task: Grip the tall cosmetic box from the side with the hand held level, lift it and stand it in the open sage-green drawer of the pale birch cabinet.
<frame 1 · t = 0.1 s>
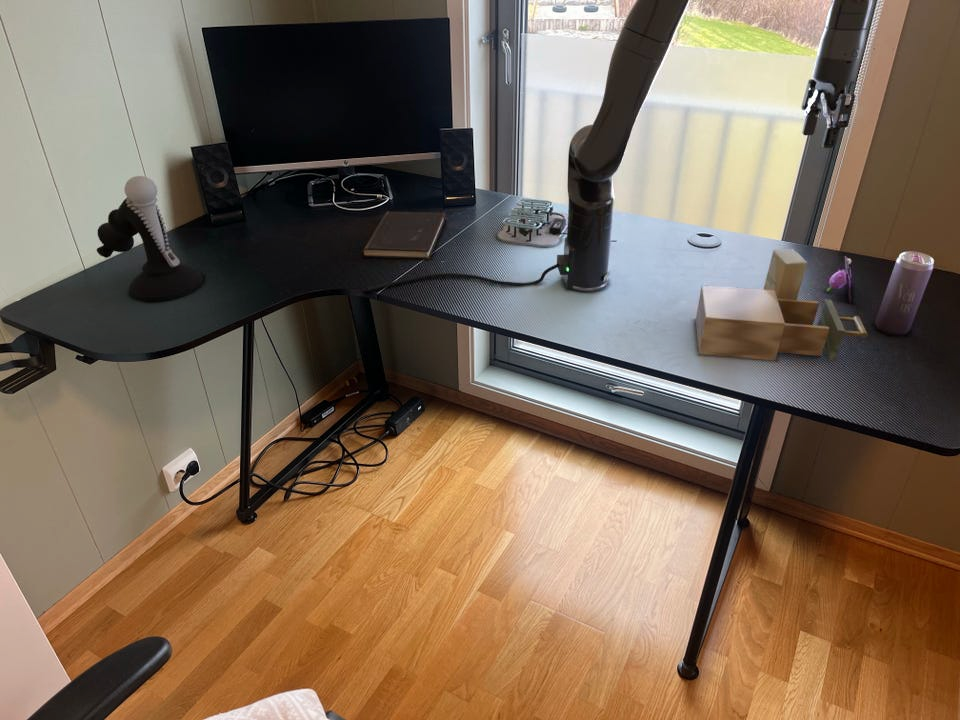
hand: (817, 141, 139), 29 cm above the table, tool pointing down, fingers open, 8 cm apart
beverage can: (891, 329, 135), on the table
purple figurine: (837, 293, 147), on the table
sculpture: (152, 283, 158), on the table
drawer: (811, 327, 128), point 4 cm above the table, slide at 9.0 cm
hardcover book: (406, 239, 175), on the table
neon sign: (561, 231, 177), on the table
cosmetic box: (775, 311, 142), on the table
cabinet: (733, 339, 133), on the table
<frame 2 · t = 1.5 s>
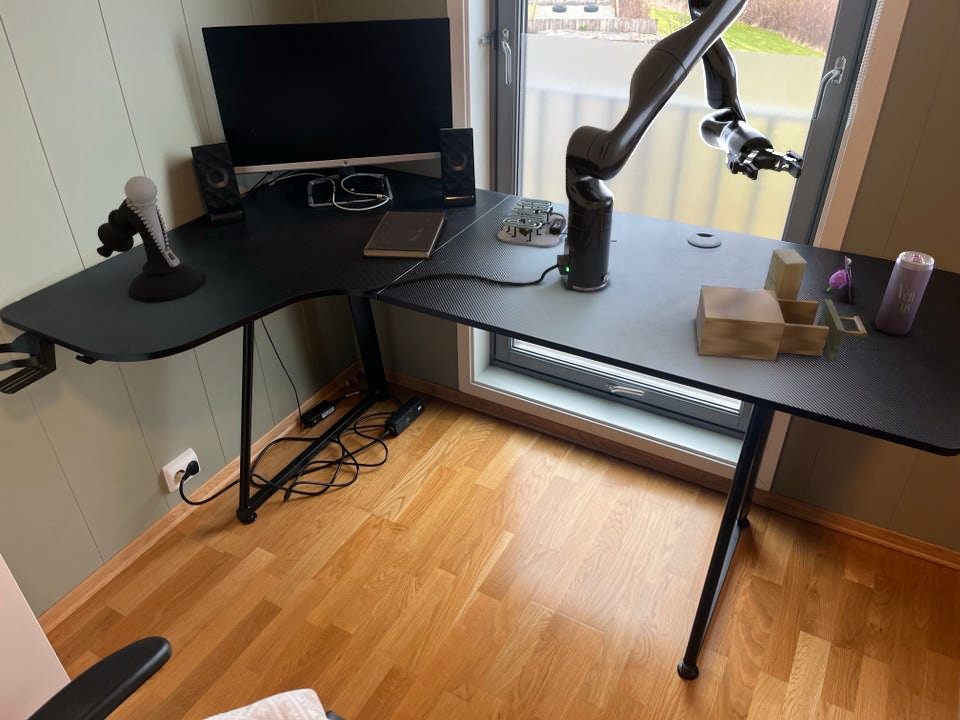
hand: (777, 174, 138), 24 cm above the table, tool horizontal, fingers open, 8 cm apart
nothing on the table moved.
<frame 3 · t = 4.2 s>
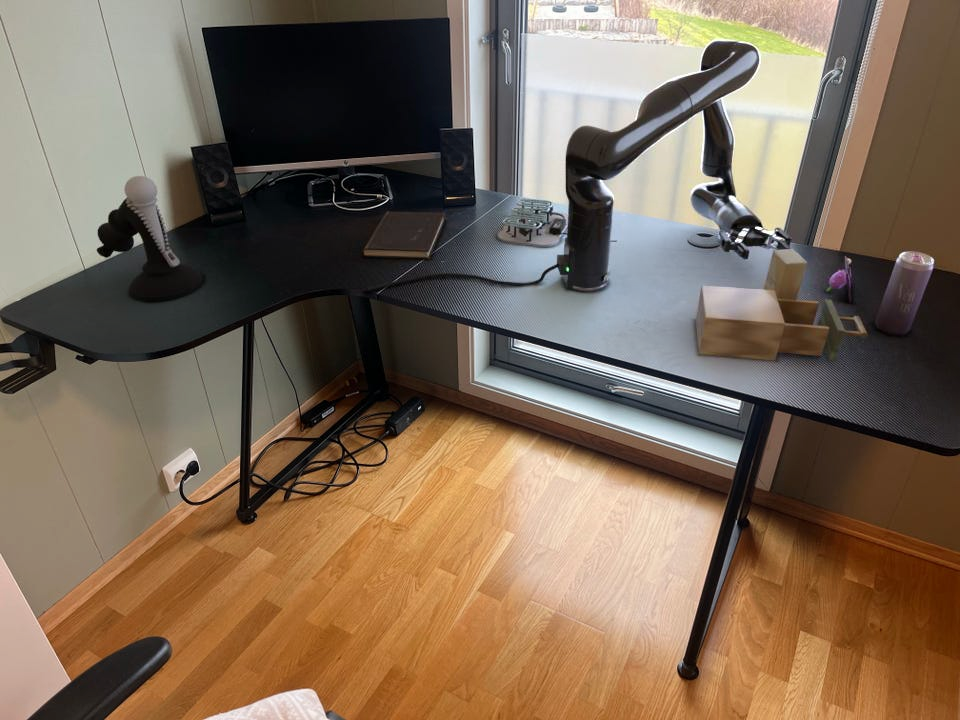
hand: (767, 254, 144), 8 cm above the table, tool horizontal, fingers open, 8 cm apart
nothing on the table moved.
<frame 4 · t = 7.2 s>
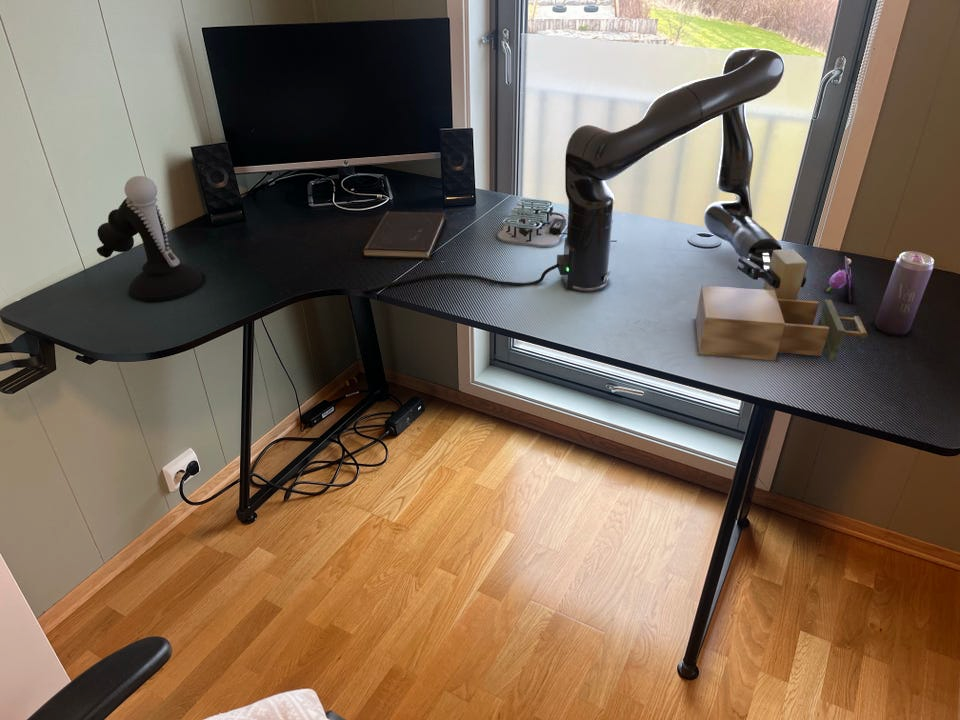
hand: (790, 283, 135), 8 cm above the table, tool horizontal, fingers closed on cosmetic box, 4 cm apart
cosmetic box: (775, 311, 142), on the table, touching gripper
everything else where it was.
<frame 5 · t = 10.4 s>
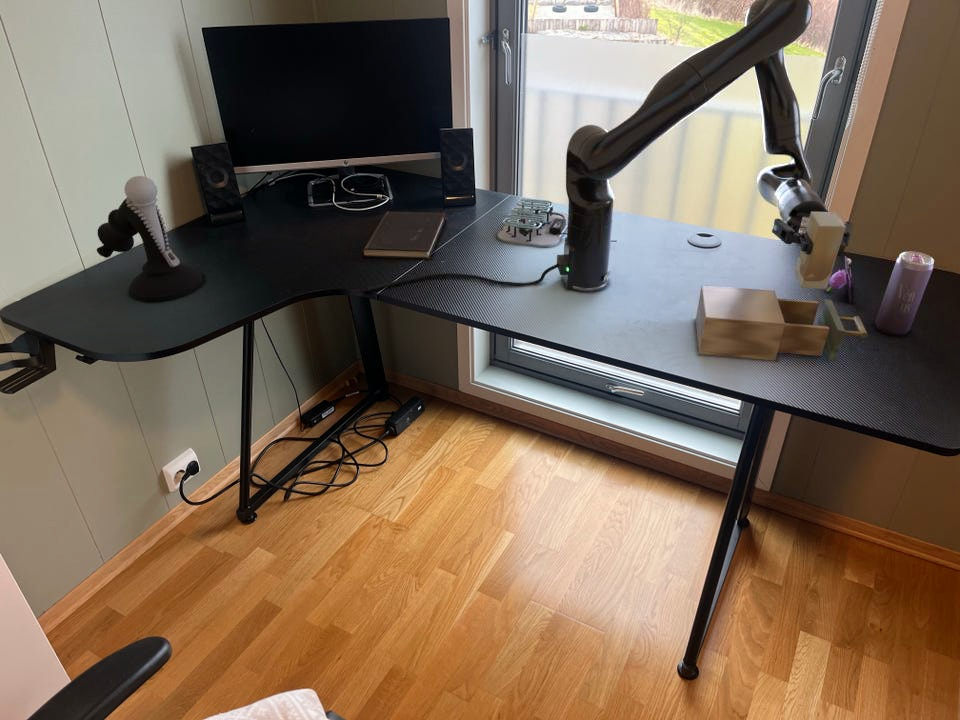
hand: (824, 250, 120), 20 cm above the table, tool horizontal, fingers closed on cosmetic box, 4 cm apart
cosmetic box: (809, 282, 126), point 12 cm above the table, touching gripper
everything else where it was.
when the fingers open (9 cm above the table, at t = 14.1 s): cosmetic box stays where it is, resting on drawer.
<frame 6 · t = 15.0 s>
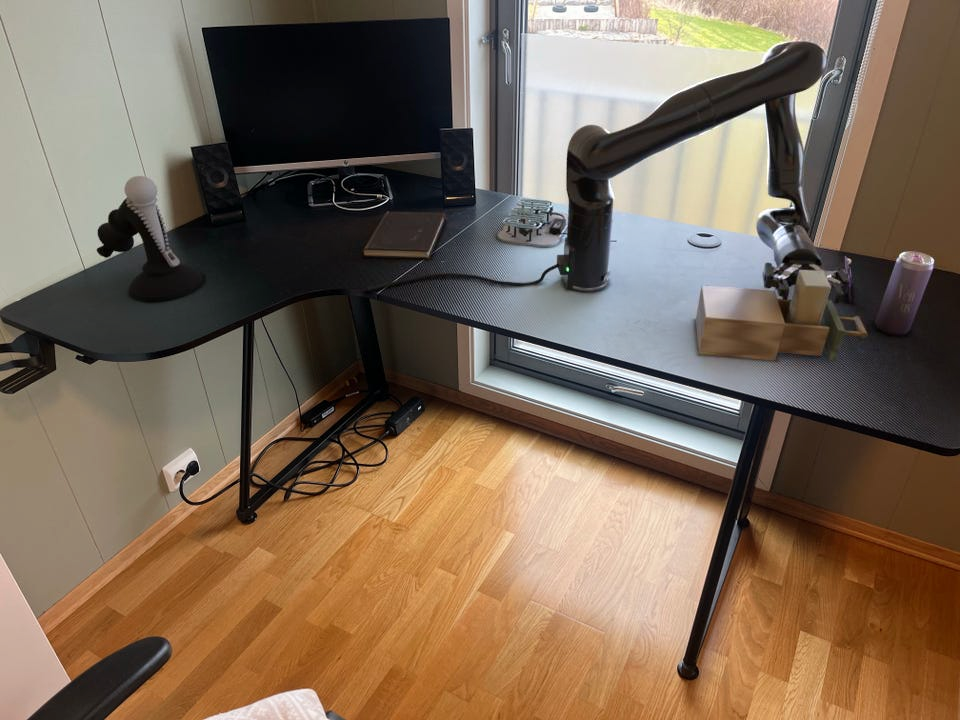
hand: (812, 297, 123), 11 cm above the table, tool horizontal, fingers open, 8 cm apart
drawer: (811, 327, 128), point 4 cm above the table, slide at 9.0 cm, touching cosmetic box
cosmetic box: (798, 336, 130), point 2 cm above the table, touching drawer
everything else where it was.
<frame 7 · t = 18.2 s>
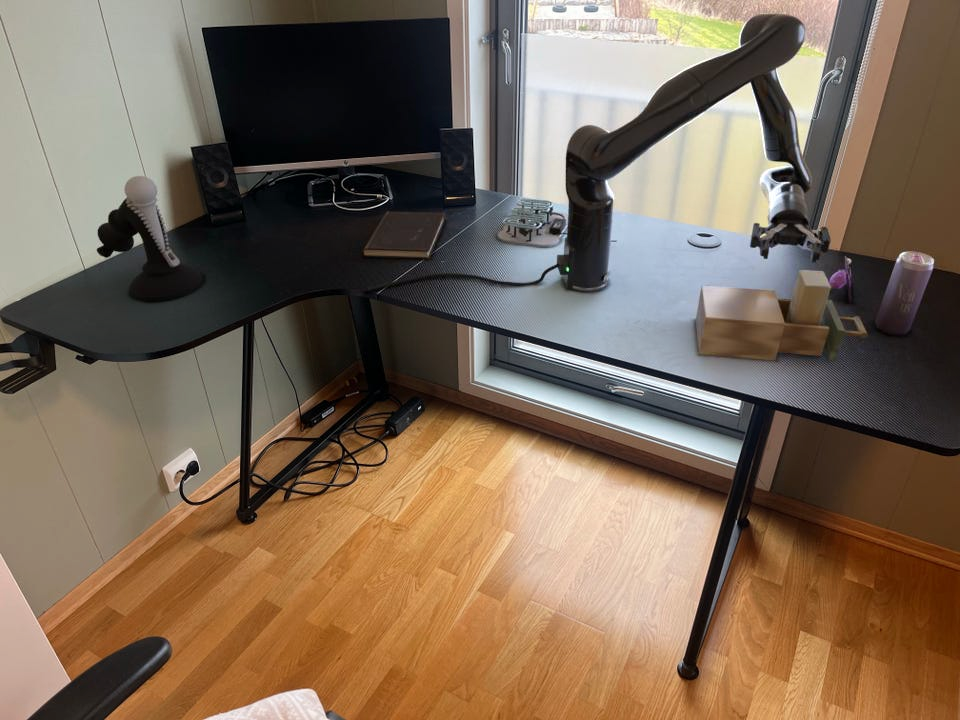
hand: (790, 256, 132), 13 cm above the table, tool horizontal, fingers open, 8 cm apart
nothing on the table moved.
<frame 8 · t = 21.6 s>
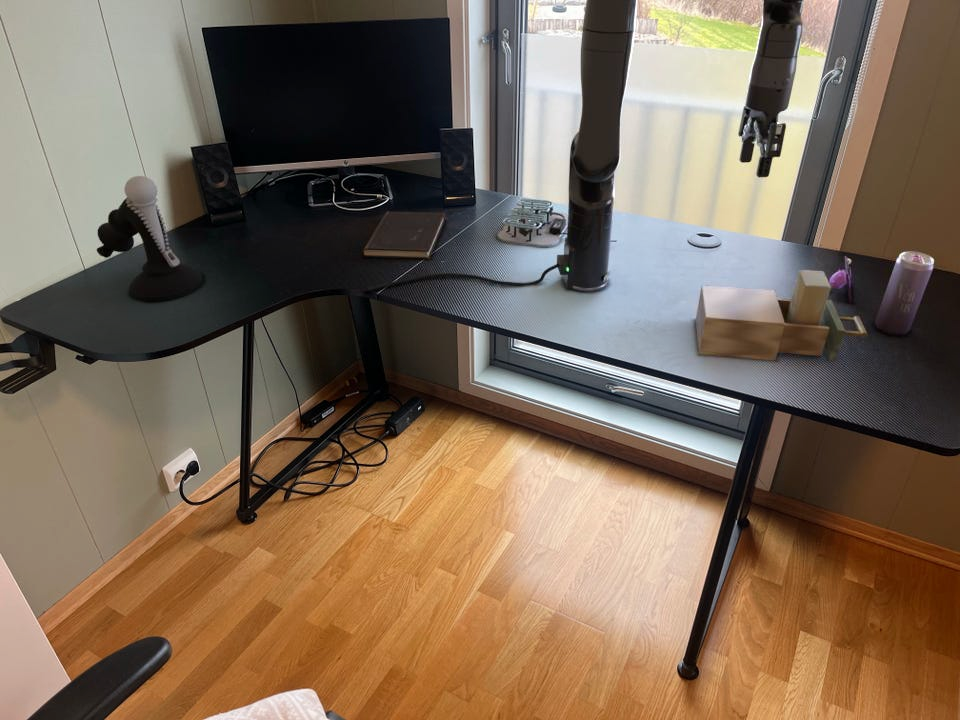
hand: (753, 169, 135), 26 cm above the table, tool pointing down, fingers open, 8 cm apart
nothing on the table moved.
at the end: cosmetic box inside the target area in the drawer (0.2 cm from its centre), point 1.7 cm above the cabinet's base; the gripper is holding nothing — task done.
